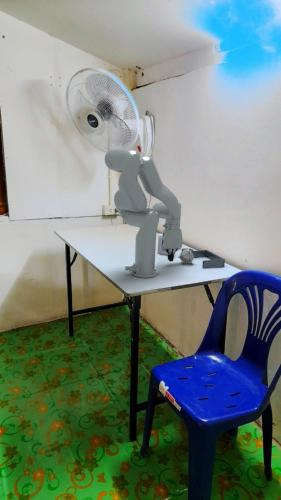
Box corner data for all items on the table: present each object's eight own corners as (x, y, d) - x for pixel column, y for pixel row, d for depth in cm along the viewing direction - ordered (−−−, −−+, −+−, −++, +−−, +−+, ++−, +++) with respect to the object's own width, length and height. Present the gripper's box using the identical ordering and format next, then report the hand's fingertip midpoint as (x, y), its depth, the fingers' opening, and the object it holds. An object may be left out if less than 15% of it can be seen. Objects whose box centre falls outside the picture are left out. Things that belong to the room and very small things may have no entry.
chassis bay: (203, 268, 167) (203, 261, 166) (186, 257, 184) (187, 251, 183) (225, 266, 171) (226, 259, 170) (207, 256, 188) (208, 249, 187)
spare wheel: (184, 255, 188) (184, 251, 187) (179, 252, 194) (179, 248, 194) (195, 255, 190) (195, 250, 189) (190, 251, 196) (190, 247, 196)
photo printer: (175, 254, 189) (176, 234, 186) (172, 256, 186) (173, 235, 182) (159, 251, 194) (160, 231, 191) (156, 253, 191) (157, 233, 187)
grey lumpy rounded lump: (182, 270, 175) (171, 254, 174) (191, 262, 179) (181, 247, 178) (192, 266, 167) (181, 250, 166) (201, 258, 172) (191, 242, 171)
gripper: (161, 228, 160) (160, 264, 165) (189, 227, 164) (186, 261, 169) (156, 225, 167) (154, 259, 172) (182, 224, 171) (180, 257, 176)
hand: (170, 260), depth 170 cm, fingers closed
